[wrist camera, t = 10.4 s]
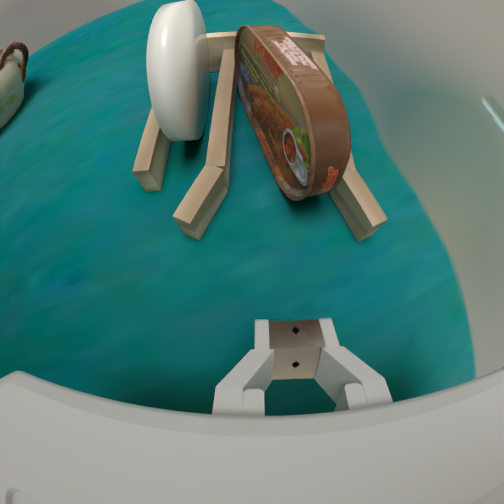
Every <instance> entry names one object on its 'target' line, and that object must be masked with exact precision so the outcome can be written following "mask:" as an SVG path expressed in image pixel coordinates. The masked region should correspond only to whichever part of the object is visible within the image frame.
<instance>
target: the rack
mask: <svg viewBox="0 0 504 504" xmlns="http://www.w3.org/2000/svg"><path fill="white" fill-rule="evenodd" d="M286 33H288V35H289V36H290V37H292V38H293V39H294V41H295V42H296V43H297V44H298V45H299V46H300V47H301V48H302V49H303V50H304V51H305V52H306V53H307V54H308V55H309V56H310V57H311V58H312V60H313V61H314V62H315V63H316V64H317V65H318V66H319V67H320V69H321V70H322V71H323V72H324V73H325V75H326V76H327V77H328V78H329V79H330V81H331V82H332V83H333V81H332V77H331V74H330V71H329V68H328V65H327V62H326V59H325V56H324V54H323V51H324V45H325V38H324V36H323V35H315V34H305V33H292V32H286ZM236 34H237V32H221V33H208V34H206V35H207V43H208V53H209V72H217V71H220V72H219V78H218V84H217V90H216V96H215V102H214V108H213V115H212V122H211V129H210V136H209V143H208V150H207V158H206V165H205V166H204V168H203V169H202V171H201V172H200V174H199V175H198V177H197V178H196V180H195V181H194V183H193V184H192V186H191V188H190V189H189V191H188V192H187V194H186V195H185V197H184V199H183V200H182V202H181V203H180V205H179V207H178V208H177V210H176V211H175V213H174V215H173V217H174V219H175V220H176V222H177V223H178V225H179V227H180V228H181V230H182V231H183V233H184V234H186V235H188V236H190V237H192V238H195V239H197V240H199V241H200V239H201V237H202V235H203V234H204V232H205V230H206V228H207V227H208V225H209V223H210V221H211V220H212V218H213V216H214V214H215V213H216V211H217V209H218V208H219V206H220V204H221V202H222V201H223V199H224V197H225V196H226V194H227V192H228V190H227V189H229V179H230V164H231V149H232V136H233V123H234V110H235V98H236V87H237V78H236V70H235V59H234V45H235V38H236ZM333 85H334V84H333ZM170 145H171V140H169V139H168V138H167V137H166V136H165V134H164V133H163V131H162V130H161V128H160V126H159V124H158V122H157V119H156V116H155V113H154V110H153V106H152V109H151V112H150V114H149V117H148V120H147V123H146V126H145V130H144V133H143V136H142V139H141V143H140V146H139V149H138V153H137V156H136V160H135V164H134V168H133V171H132V172H133V173H134V174H135V176H136V177H137V179H138V180H139V182H140V183H141V185H142V186H143V188H144V189H145V191H146V192H150V191H161V189H162V183H163V178H164V173H165V168H166V163H167V158H168V154H169V149H170ZM329 194H330V196H331V197H332V199H333V201H334V202H335V204H336V205H337V207H338V209H339V210H340V212H341V214H342V216H343V217H344V219H345V221H346V222H347V224H348V226H349V228H350V229H351V231H352V233H353V235H354V237H355V238H356V240H357V242H360V241H362V240H364V239H366V238H368V237H370V236H372V235H373V234H374V233H375V232H376V231H377V230H378V229H379V228H380V227H381V226H382V225H383V224H384V223H385V222H386V221H387V220H388V219H387V218H386V216H385V214H384V213H383V211H382V209H381V208H380V206H379V204H378V203H377V201H376V200H375V198H374V196H373V195H372V193H371V192H370V190H369V189H368V187H367V186H366V184H365V182H364V181H363V179H362V178H361V177H360V175H359V174H358V172H357V171H356V169H355V166H354V162H353V157H352V152H351V153H350V158H349V162H348V164H347V167H346V170H345V172H344V175H343V177H342V179H341V181H340V183H339V184H338V185H337V186H336V187H335V188H334V189H333V190H332V191H330V193H329Z"/></svg>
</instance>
